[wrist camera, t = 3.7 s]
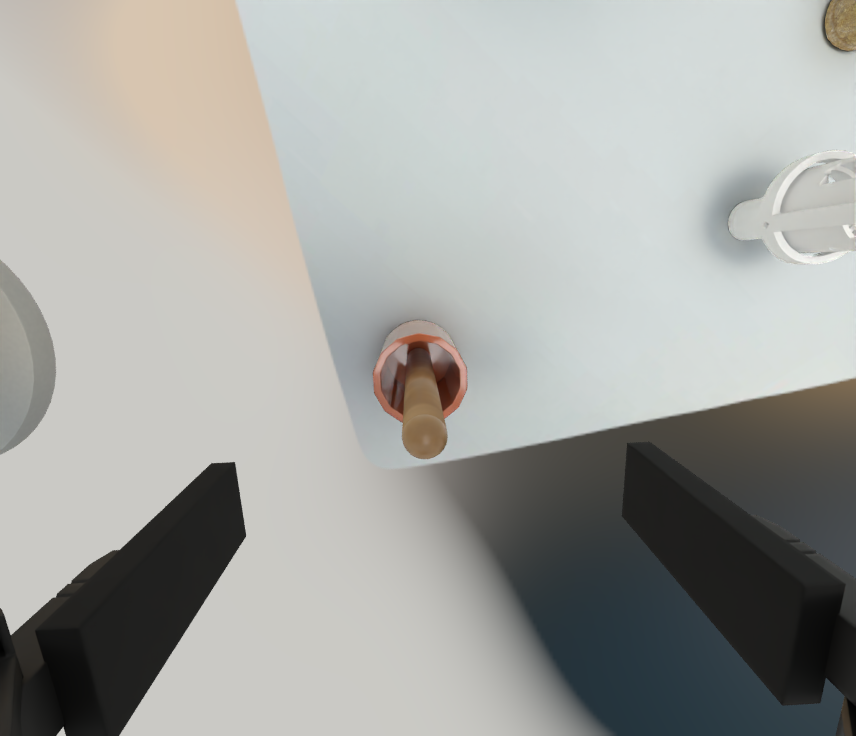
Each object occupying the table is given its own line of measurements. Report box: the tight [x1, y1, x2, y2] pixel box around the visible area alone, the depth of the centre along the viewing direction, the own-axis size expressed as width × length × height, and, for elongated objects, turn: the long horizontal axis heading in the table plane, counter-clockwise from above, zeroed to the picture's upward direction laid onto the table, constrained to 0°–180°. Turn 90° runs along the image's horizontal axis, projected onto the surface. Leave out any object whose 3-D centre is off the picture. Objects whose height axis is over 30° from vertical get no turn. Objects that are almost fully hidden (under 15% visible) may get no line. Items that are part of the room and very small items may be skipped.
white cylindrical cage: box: [728, 150, 856, 264], centre depth 27 cm, size 7×7×15 cm
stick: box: [402, 348, 447, 459], centre depth 26 cm, size 2×2×18 cm
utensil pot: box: [373, 320, 467, 423], centre depth 32 cm, size 6×6×8 cm
